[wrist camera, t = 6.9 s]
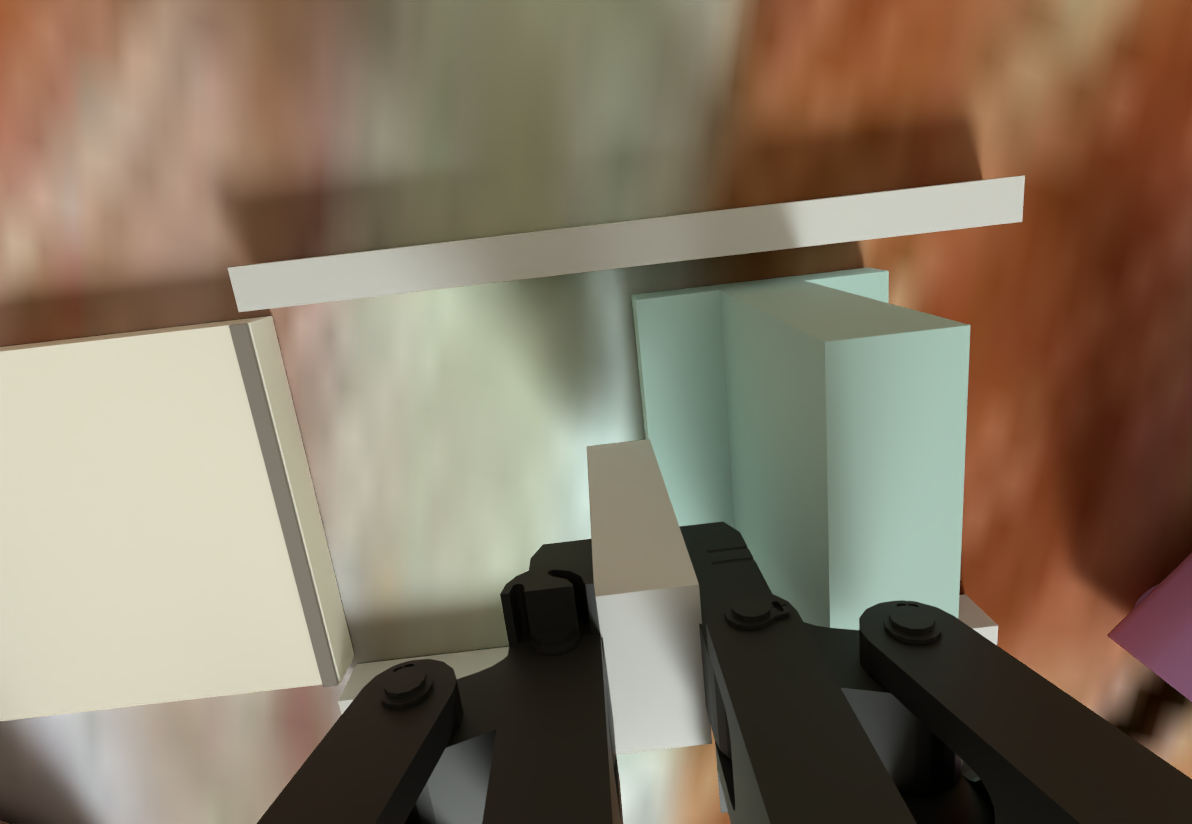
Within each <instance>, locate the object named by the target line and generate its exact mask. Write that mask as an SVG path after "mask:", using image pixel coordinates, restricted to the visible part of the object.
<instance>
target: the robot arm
mask: <svg viewBox="0 0 1192 824" xmlns="http://www.w3.org/2000/svg"><path fill="white" fill-rule="evenodd" d="M587 461H588V481H589V500H590V520H591V539H587V540H578V541H570V542H561V543H553V544H544V545H542V546H541V547H540V549H539V550H538V551H537V552H536V553H535V554H534V556H533V557H532V558H531V560H530V567H529V571H527V572H525V573H523V574H520V575H518V576H516V577H515V578H514V579H512V580H511V581H510V582H509V583H507V584H506V585H505V587H504V589H503V591H502V592H501V594H500V595H501V601H502V607H503V613H504V618H505V624H506V630H507V636H508V641H509V650H508V655H507V656H506V657H505V658H504V659H503V660H501V661H500V662H498V663H496V664H495V665H493V666H491V667H489V668H487V669H484V670H482V671H479V672H477V673H474V674H471V675H468V676H465V677H462V678H459V679H457V678H456V675H455V672H454V669H453V668H452V667H450V666H449V665H447V664H446V663H445V662H443V661H438V660H432V659H420V660H410V661H407V662H404V663H400V664H397V665H395V666H392V667H390V668H389V669H387V670H385V671H383V672H382V673H380V674H378V675H376V676H375V677H374V678H373V679H372V680H371V681H370V682H369V683H368V684H366V685H365V686H364V687H363V688H362V690H361V691H360V692H359V694H358V695H357V696H356V697H355V699H354V700H353V701H352V702H351V704H350V705H349V706H348V708H347V709H346V710H345V711H344V713H343V714H342V715H341V717H340V718H339V719H338V720H337V722H336V723H335V724H334V726H333V727H332V728H331V729H330V731H329V732H328V733H327V734H326V736H325V737H324V738H323V740H322V741H321V742H320V743H319V745H318V746H317V747H316V749H315V750H314V751H313V752H312V754H311V755H310V756H309V758H308V759H307V760H306V761H305V763H304V764H303V765H302V766H301V768H300V769H299V770H298V772H297V773H296V774H295V775H294V777H293V778H292V779H291V781H290V782H289V783H288V784H287V786H286V787H285V788H284V789H283V791H282V792H281V793H280V795H279V796H278V797H277V798H276V800H275V801H274V802H273V804H272V805H271V806H270V807H269V809H268V810H267V811H266V813H265V814H264V815H263V816H262V818H261V819H260V820H259V821H258V823H257V824H623V816H622V804H621V792H620V781H619V773H618V765H617V758H616V755H617V754H626V753H634V752H643V751H652V750H660V749H669V748H677V747H686V746H694V745H703V744H711V743H712V738H711V727H712V731H713V734H714V738H715V745H716V757H717V770H718V782H719V794H720V807H721V813H723V812H728V813H729V817H730V821H731V824H1192V779H1191V778H1189V777H1188V776H1186V775H1185V774H1183V773H1182V772H1180V771H1179V770H1177V769H1176V768H1175V767H1173V766H1172V765H1170V764H1169V763H1167V762H1166V761H1164V760H1163V759H1161V758H1160V757H1158V756H1157V755H1156V754H1154V753H1153V752H1151V751H1150V750H1148V749H1147V748H1145V747H1144V746H1142V745H1141V744H1140V743H1138V742H1137V741H1135V740H1134V739H1132V738H1131V737H1129V736H1128V735H1126V734H1125V733H1124V732H1122V731H1121V730H1119V729H1118V728H1116V727H1115V726H1113V725H1112V724H1110V723H1109V722H1108V721H1106V720H1105V719H1103V718H1102V717H1100V716H1099V715H1097V714H1096V713H1094V712H1093V711H1091V710H1090V709H1089V708H1087V707H1086V706H1084V705H1083V704H1081V703H1080V702H1078V701H1077V700H1075V699H1074V698H1073V697H1071V696H1070V695H1068V694H1067V693H1065V692H1064V691H1062V690H1061V689H1059V688H1058V687H1057V686H1055V685H1054V684H1052V683H1051V682H1049V681H1048V680H1046V679H1045V678H1043V677H1042V676H1041V675H1039V674H1038V673H1036V672H1035V671H1033V670H1032V669H1030V668H1029V667H1027V666H1026V665H1025V664H1023V663H1022V662H1020V661H1019V660H1017V659H1016V658H1014V657H1013V656H1011V655H1010V654H1008V653H1007V652H1006V651H1004V650H1003V649H1001V648H1000V647H998V646H997V645H995V644H994V643H992V642H991V641H990V640H988V639H987V638H985V637H984V636H982V635H981V634H979V633H978V632H976V631H975V630H974V629H972V628H971V627H969V626H968V625H966V624H965V623H963V622H962V621H960V620H959V619H958V618H956V617H955V616H953V615H951V614H949V613H947V612H945V611H943V610H941V609H939V608H937V607H934V606H931V605H927V604H923V603H919V602H915V601H905V600H900V601H890V602H883V603H878V604H876V605H874V606H872V607H870V608H867V609H866V610H865V611H864V612H863V614H862V615H861V616H860V618H859V630H850V629H838V628H828V627H822V626H816V625H812V624H809V623H806V622H803V620H802V618H801V617H800V615H799V613H798V611H797V610H796V609H795V608H794V607H793V606H792V605H791V604H790V603H789V602H788V601H786V600H784V599H782V598H780V597H778V596H776V595H773V594H772V592H771V590H770V588H769V586H768V584H767V582H766V581H765V579H764V577H763V575H762V573H761V571H760V569H759V567H758V565H757V563H756V562H755V560H754V559H753V556H752V554H751V552H750V550H749V549H748V548H747V544H746V543H745V541H744V539H743V537H742V535H741V533H740V532H739V531H737V530H736V529H734V528H733V527H731V526H730V525H728V524H726V523H725V522H723V521H722V522H714V523H705V524H697V525H688V526H680V527H679V524H678V521H677V518H676V515H675V512H674V509H673V506H672V504H671V501H670V498H669V495H668V492H667V489H666V486H665V483H664V480H663V477H662V474H661V471H660V468H659V465H658V462H657V459H656V456H655V453H654V450H653V447H652V445H651V442H650V439H645V440H637V441H628V442H620V443H612V444H603V445H595V446H587ZM710 723H711V726H710Z"/></svg>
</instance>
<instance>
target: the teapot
mask: <svg viewBox="0 0 1192 824" xmlns="http://www.w3.org/2000/svg"><path fill="white" fill-rule="evenodd" d="M1108 637H1110V638H1111V639H1112V640H1113V641H1115V642H1116V643H1117V644H1119V645H1120V646H1121V647H1122V648H1124V649H1125V650H1126V651H1128V652H1129V653H1130V654H1131V655H1133V656H1134V657H1135V658H1136V659H1138V660H1139V661H1140V662H1142V663H1143V664H1144V665H1145V666H1147V667H1148V668H1149V669H1151V670H1152V671H1153V672H1154V673H1156V674H1157V675H1158V676H1159V677H1161V678H1162V679H1163V680H1165V681H1166V682H1167V683H1168V684H1170V685H1171V686H1172V687H1174V688H1175V689H1176V690H1177V691H1179V692H1180V693H1181V694H1183V695H1184V696H1185V697H1186V698H1188V699H1189V700H1190V701H1191V702H1192V553H1191V554H1190V555H1189V556H1187V557H1186V558H1185V559H1184V560H1183V561H1182V562H1181V563H1180V564H1179V565H1178V566H1177V567H1176V568H1175V569H1174V570H1173V571H1172V572H1171V573H1170V574H1169V575H1168V576H1167V577H1166V578H1165V579H1164V580H1163V581H1162V582H1161V583H1160V584H1158V585H1156V586H1154V587H1152V588H1150V589H1149V590H1147V591H1146V592H1145V593H1144V594H1143V595H1142V596H1141V597H1140V598H1139V599H1138V601H1137V603H1136V604H1135V607H1134V609H1133V610H1132V611H1131V612H1130V613H1129V614H1128V615H1127V616H1126V617H1125V618H1124V619H1123V620H1122V621H1121V622H1120V623H1119V624H1118V625H1117V626H1116V627H1115V628H1114V629H1113V630H1112V631H1111V632H1110V633H1109V634H1108Z"/></svg>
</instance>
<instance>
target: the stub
mask: <svg viewBox="0 0 1192 824" xmlns="http://www.w3.org/2000/svg"><path fill="white" fill-rule="evenodd" d="M888 281H889V271H886V270H880V269H874V268H868V267H867V268H859V269H850V270H841V271H833V272H824V273H815V274H807V275H798V276H789V277H781V278H772V279H763V280H755V281H746V282H737V283H729V284H720V285H711V286H703V287H694V288H685V289H677V290H668V291H659V292H651V293H642V294H633V295H632V305H633V316H634V326H635V337H636V347H637V358H638V368H639V378H640V389H641V399H642V410H643V420H644V430H645V439H650V442H651V445H652V447H653V450H654V453H655V456H656V459H657V462H658V465H659V468H660V471H661V474H662V477H663V480H664V483H665V486H666V489H667V492H668V495H669V498H670V501H671V504H672V506H673V509H674V512H675V515H676V518H677V521H678V524H679V527H680V526H688V525H697V524H705V523H714V522H722V521H723V522H725V523H726V524H728V525H730V526H731V527H733V528H734V529H736V530H737V531H739V532H740V533H741V535H742V537H743V539H744V541H745V543H746V544H747V548H748V549H749V550H750V552H751V554H752V556H753V559H754V560H755V562H756V563H757V565H758V567H759V569H760V571H761V573H762V575H763V577H764V579H765V581H766V582H767V584H768V586H769V588H770V590H771V592H772V594H773V595H776V596H778V597H780V598H782V599H784V600H786V601H788V602H789V603H790V604H791V605H792V606H793V607H794V608H795V609H796V610H797V611H798V613H799V615H800V617H801V618H802V620H803V622H806V623H809V624H812V625H816V626H822V627H828V628H838V629H850V630H859V618H860V616H861V615H862V614H863V612H864V611H865V610H866V609H867V608H870V607H872V606H874V605H876V604H878V603H883V602H890V601H900V600H905V601H915V602H919V603H923V604H927V605H931V606H934V607H937V608H939V609H941V610H943V611H945V612H947V613H949V614H951V615H953V616H955V617H956V618H958V616H959V591H960V567H961V542H962V518H963V493H964V469H965V444H966V420H967V395H968V371H969V346H970V325H968V324H964V323H961V322H957V321H953V320H949V319H946V318H942V317H938V316H934V315H931V314H927V313H923V312H919V311H916V310H912V309H908V308H904V307H901V306H897V305H893V304H890V303H888Z"/></svg>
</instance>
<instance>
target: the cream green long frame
mask: <svg viewBox="0 0 1192 824" xmlns="http://www.w3.org/2000/svg"><path fill="white" fill-rule="evenodd" d="M1024 183H1025V176H1015V177H1005V178H995V179H985V180H976V181H967V182H959V183H950V184H941V185H933V186H924V187H915V188H907V189H898V190H889V191H881V192H872V193H863V194H855V195H846V196H838V197H829V198H820V199H812V200H803V201H794V202H786V203H777V204H768V205H760V206H751V207H742V208H734V209H725V210H717V211H708V212H699V213H691V214H682V215H673V216H665V217H656V218H647V219H639V220H630V221H622V222H613V223H604V224H596V225H587V226H578V227H570V228H561V229H552V230H544V231H535V232H526V233H518V234H509V235H501V236H492V237H483V238H475V239H466V240H457V241H449V242H440V243H431V244H423V245H414V246H405V247H397V248H388V249H380V250H371V251H362V252H354V253H345V254H336V255H328V256H319V257H310V258H302V259H293V260H285V261H276V262H267V263H259V264H252V265H244V266H237V267H230V268H228V272H229V276H230V280H231V284H232V288H233V292H234V296H235V299H236V303H237V307H238V311H239V312H245V311H254V310H262V309H271V308H280V307H288V306H297V305H306V304H314V303H323V302H331V301H340V300H349V299H357V298H366V297H375V296H383V295H392V294H401V293H409V292H418V291H427V290H435V289H444V288H453V287H461V286H470V285H479V284H487V283H496V282H504V281H513V280H522V279H530V278H539V277H548V276H556V275H565V274H574V273H582V272H591V271H600V270H608V269H617V268H626V267H634V266H643V265H652V264H660V263H669V262H677V261H686V260H695V259H703V258H712V257H721V256H729V255H738V254H747V253H755V252H764V251H773V250H781V249H790V248H799V247H807V246H816V245H825V244H833V243H842V242H850V241H859V240H868V239H876V238H885V237H894V236H902V235H911V234H920V233H928V232H937V231H946V230H954V229H963V228H972V227H980V226H989V225H998V224H1006V223H1015V222H1022V216H1023V200H1024ZM958 619H959V620H960V621H962V622H963V623H965V624H966V625H968V626H969V627H971V628H972V629H974V630H975V631H976V632H978V633H979V634H981V635H982V636H984V637H985V638H987V639H988V640H990V641H991V642H992V643H994V644H995V645H997V638H998V625H997V624H996V623H995V622H994V621H993V620H992V619H991V618H990V617H989V616H988V615H987V614H986V613H985V612H983V611H982V610H981V609H980V608H979V607H978V606H977V605H976V604H975V603H974V602H973V601H972V600H971V599H970V598H969V597H968V596H967V595H966V594H964V595H959V616H958ZM508 650H509V647H502V648H493V649H484V650H476V651H467V652H458V653H450V654H441V655H432V656H423V657H415V658H406V659H397V660H389V661H380V662H371V663H362V664H356V666H355V668H354V670H353V672H352V674H351V676H350V678H349V680H348V682H347V685H346V687H345V689H344V691H343V693H342V695H341V697H340V699H339V701H338V702H339V706H340V710H341V714H343V713H344V711H345V710H346V709H347V708H348V706H349V705H350V704H351V702H352V701H353V700H354V699H355V697H356V696H357V695H358V694H359V692H360V691H361V690H362V688H363V687H364V686H365V685H366V684H368V683H369V682H370V681H371V680H372V679H373V678H374V677H375V676H376V675H378V674H380V673H382V672H383V671H385V670H387V669H389V668H390V667H392V666H395V665H397V664H400V663H404V662H407V661H410V660H420V659H432V660H438V661H443V662H445V663H446V664H447V665H449V666H450V667H452V668H453V669H454V672H455V675H456V678H457V679H459V678H462V677H465V676H468V675H471V674H474V673H477V672H479V671H482V670H484V669H487V668H489V667H491V666H493V665H495V664H496V663H498V662H500V661H501V660H503V659H504V658H505V657H506V656H507V655H508ZM353 657H354V652H353V648H352V644H351V639H350V635H349V631H348V627H347V623H346V619H345V615H344V611H343V606H342V602H341V598H340V594H339V590H338V586H337V582H336V578H335V574H334V569H333V565H332V561H331V557H330V553H329V549H328V545H327V541H326V536H325V532H324V528H323V524H322V520H321V516H320V512H319V508H318V503H317V499H316V495H315V491H314V487H313V483H312V479H311V475H310V471H309V466H308V462H307V458H306V454H305V450H304V446H303V442H302V438H301V433H300V429H299V425H298V421H297V417H296V413H295V409H294V405H293V400H292V396H291V392H290V388H289V384H288V380H287V376H286V372H285V367H284V363H283V359H282V355H281V351H280V347H279V343H278V339H277V335H276V330H275V326H274V322H273V318H272V316H265V317H257V318H248V319H239V320H231V321H222V322H213V323H205V324H196V325H187V326H179V327H170V328H161V329H153V330H144V331H135V332H127V333H118V334H110V335H101V336H92V337H84V338H75V339H66V340H58V341H49V342H40V343H32V344H23V345H14V346H6V347H0V721H7V720H16V719H25V718H34V717H42V716H51V715H60V714H68V713H77V712H86V711H95V710H103V709H112V708H121V707H130V706H138V705H147V704H156V703H164V702H173V701H182V700H191V699H199V698H208V697H217V696H225V695H234V694H243V693H252V692H260V691H269V690H278V689H287V688H295V687H304V686H313V685H321V684H322V685H323V687H328V686H336V685H338V683H339V682H341V681H342V679H343V677H344V675H345V673H346V671H347V669H348V667H349V665H350V663H351V661H352V659H353Z"/></svg>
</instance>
